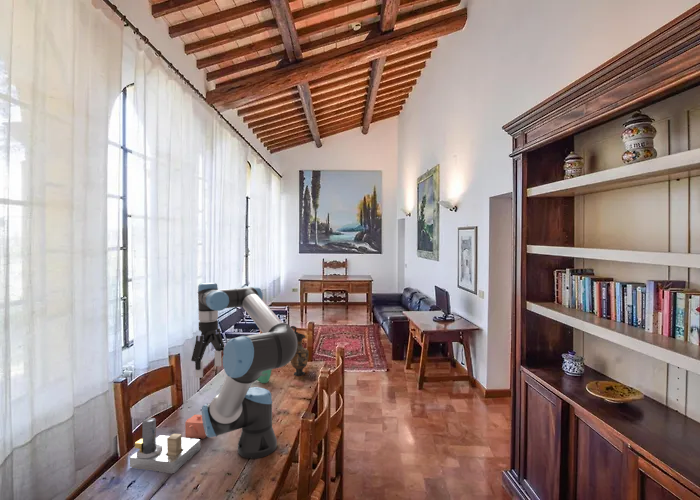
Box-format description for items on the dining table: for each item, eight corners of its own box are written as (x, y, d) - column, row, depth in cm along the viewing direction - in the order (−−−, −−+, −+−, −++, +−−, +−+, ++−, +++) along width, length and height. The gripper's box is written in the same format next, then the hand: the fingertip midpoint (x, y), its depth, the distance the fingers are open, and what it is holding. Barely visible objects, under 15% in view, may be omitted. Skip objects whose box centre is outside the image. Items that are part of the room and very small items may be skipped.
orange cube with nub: (221, 427, 166) (220, 408, 166) (203, 445, 151) (202, 425, 151) (196, 425, 168) (195, 407, 168) (176, 443, 153) (175, 423, 153)
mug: (273, 378, 226) (273, 361, 226) (271, 384, 216) (271, 367, 216) (249, 379, 225) (248, 362, 225) (245, 385, 215) (245, 368, 215)
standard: (167, 447, 142) (166, 416, 142) (151, 460, 134) (150, 427, 134) (146, 445, 144) (145, 414, 144) (129, 457, 136) (128, 424, 136)
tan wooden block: (173, 459, 141) (173, 433, 141) (182, 460, 141) (181, 434, 141) (167, 465, 138) (167, 438, 138) (175, 466, 137) (175, 439, 137)
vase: (307, 377, 228) (306, 328, 227) (287, 377, 228) (286, 328, 227) (309, 370, 239) (309, 323, 239) (290, 370, 240) (289, 324, 239)
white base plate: (200, 449, 148) (200, 439, 148) (173, 473, 133) (173, 462, 133) (160, 444, 152) (160, 435, 152) (129, 468, 136) (129, 457, 136)
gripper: (216, 314, 167) (217, 361, 168) (180, 326, 143) (181, 381, 143) (231, 314, 166) (232, 362, 166) (198, 327, 141) (199, 383, 142)
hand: (209, 371), depth 155 cm, fingers open, 13 cm apart
